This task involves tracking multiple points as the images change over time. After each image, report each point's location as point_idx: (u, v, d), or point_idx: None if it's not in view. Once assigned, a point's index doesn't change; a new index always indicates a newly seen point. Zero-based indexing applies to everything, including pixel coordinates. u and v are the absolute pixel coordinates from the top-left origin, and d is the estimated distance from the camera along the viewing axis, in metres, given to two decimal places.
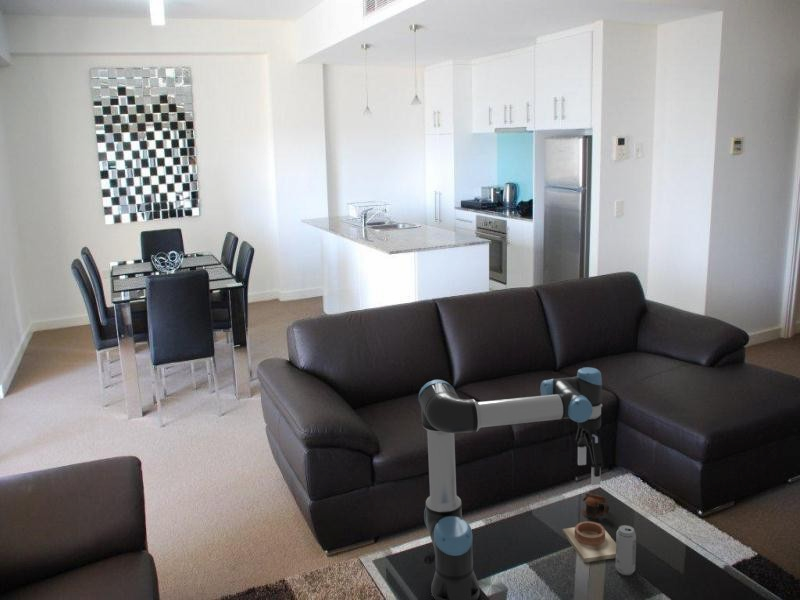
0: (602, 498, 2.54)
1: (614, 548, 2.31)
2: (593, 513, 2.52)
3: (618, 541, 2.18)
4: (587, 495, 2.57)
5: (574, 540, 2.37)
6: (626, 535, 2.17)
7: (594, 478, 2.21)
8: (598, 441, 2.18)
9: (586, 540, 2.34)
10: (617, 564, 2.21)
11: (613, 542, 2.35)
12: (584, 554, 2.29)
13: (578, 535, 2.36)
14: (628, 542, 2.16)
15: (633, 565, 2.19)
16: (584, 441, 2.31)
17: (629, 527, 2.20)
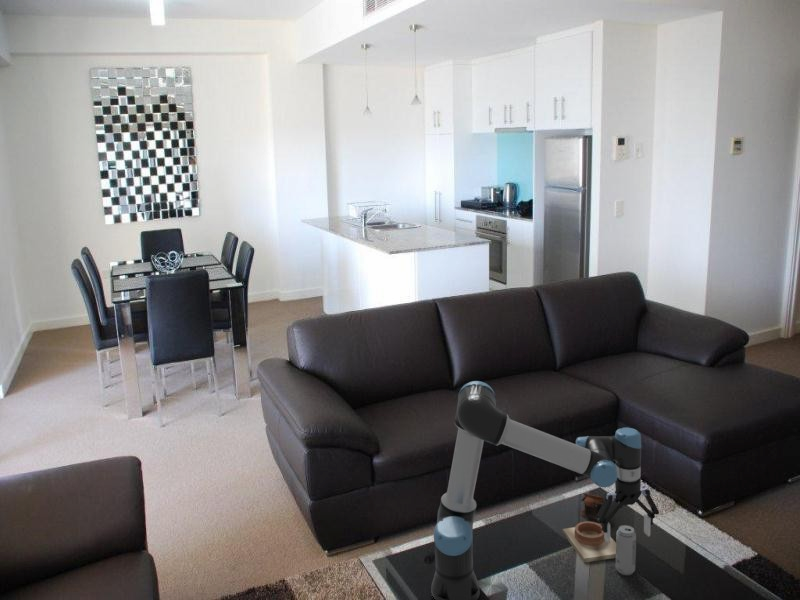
0: (600, 498, 2.54)
1: (614, 548, 2.31)
2: (592, 514, 2.52)
3: (618, 541, 2.18)
4: (585, 495, 2.56)
5: (574, 540, 2.37)
6: (626, 535, 2.17)
7: (605, 533, 2.18)
8: (607, 499, 2.14)
9: (586, 540, 2.34)
10: (617, 564, 2.21)
11: (613, 542, 2.35)
12: (584, 554, 2.29)
13: (578, 535, 2.36)
14: (628, 542, 2.16)
15: (633, 565, 2.19)
16: None
17: (629, 527, 2.20)
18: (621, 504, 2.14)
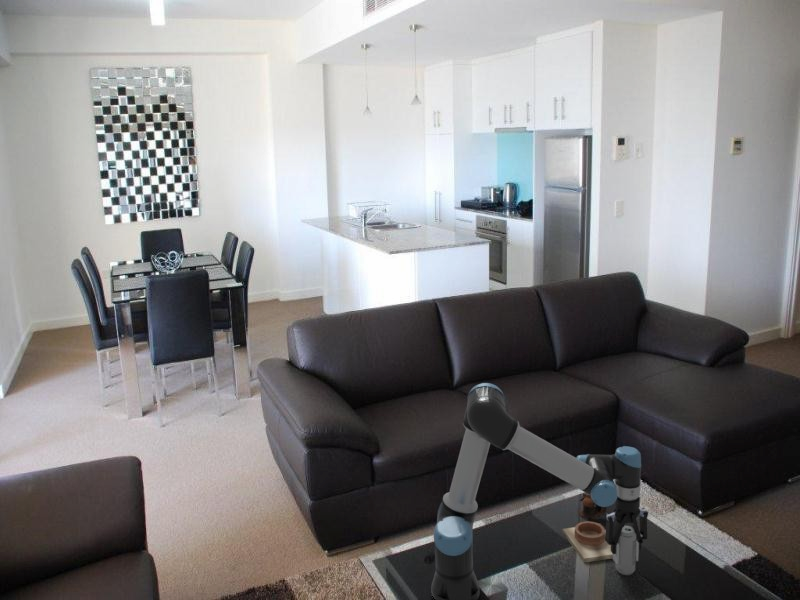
0: None
1: None
2: (590, 514, 2.52)
3: (618, 541, 2.18)
4: (584, 495, 2.56)
5: (574, 540, 2.37)
6: (626, 535, 2.17)
7: (613, 554, 2.21)
8: (608, 521, 2.16)
9: (586, 540, 2.34)
10: (617, 564, 2.21)
11: None
12: (584, 554, 2.29)
13: (578, 535, 2.36)
14: (628, 542, 2.16)
15: (633, 565, 2.19)
16: None
17: (629, 527, 2.20)
18: (622, 523, 2.16)
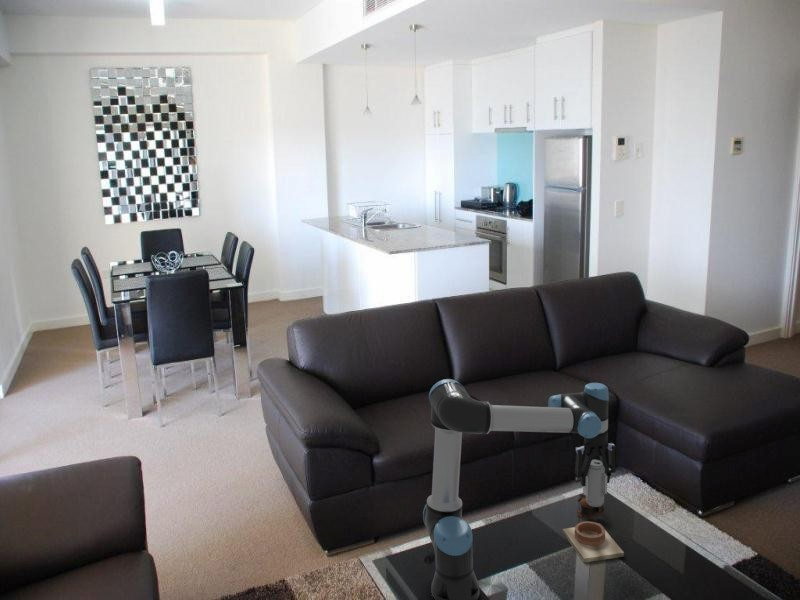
0: None
1: (614, 548, 2.31)
2: (588, 514, 2.52)
3: (587, 474, 2.29)
4: (582, 496, 2.56)
5: (574, 540, 2.37)
6: (595, 467, 2.27)
7: (583, 487, 2.32)
8: (577, 453, 2.27)
9: (586, 540, 2.34)
10: (587, 496, 2.32)
11: (613, 542, 2.35)
12: (584, 554, 2.29)
13: (578, 535, 2.36)
14: (597, 474, 2.27)
15: (602, 497, 2.30)
16: (603, 464, 2.30)
17: (598, 461, 2.30)
18: (591, 456, 2.27)
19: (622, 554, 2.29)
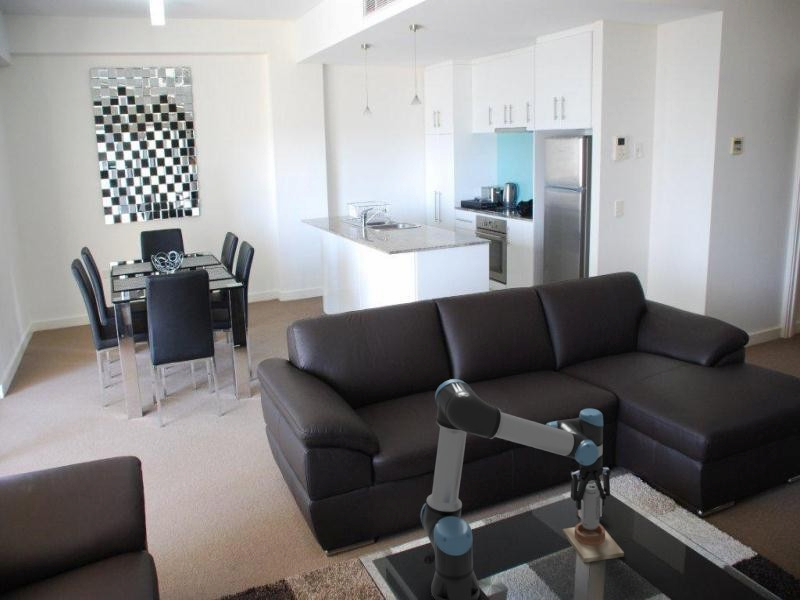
0: None
1: (614, 548, 2.31)
2: None
3: (583, 497, 2.34)
4: None
5: (574, 540, 2.37)
6: (590, 491, 2.32)
7: (579, 510, 2.36)
8: (573, 478, 2.31)
9: (586, 540, 2.34)
10: (582, 519, 2.36)
11: (613, 542, 2.35)
12: (584, 554, 2.29)
13: (578, 535, 2.36)
14: (592, 498, 2.32)
15: (597, 520, 2.34)
16: (598, 488, 2.34)
17: (593, 485, 2.35)
18: (586, 480, 2.31)
19: (622, 554, 2.29)
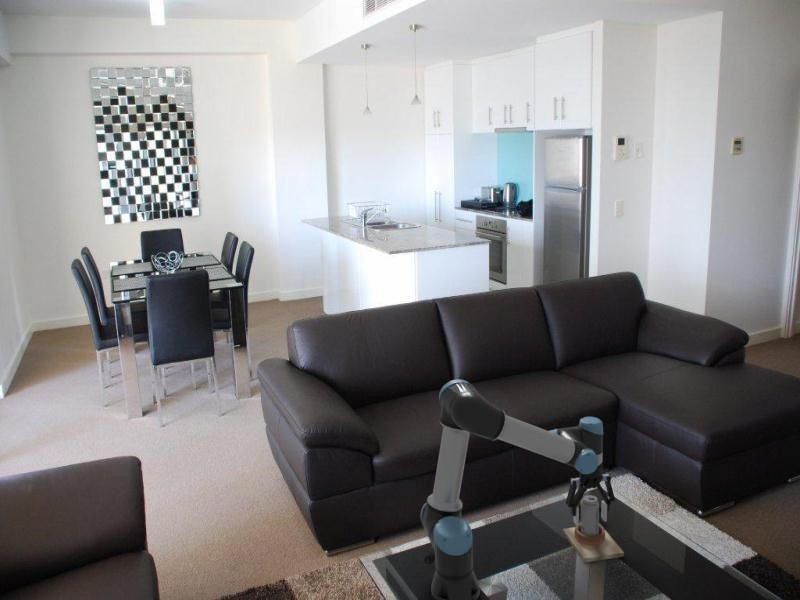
0: None
1: (614, 548, 2.31)
2: None
3: (582, 509, 2.35)
4: None
5: (574, 540, 2.37)
6: (589, 503, 2.33)
7: (574, 516, 2.36)
8: (572, 484, 2.32)
9: (586, 540, 2.34)
10: (582, 531, 2.37)
11: (613, 542, 2.35)
12: (584, 554, 2.29)
13: (578, 535, 2.36)
14: (591, 510, 2.33)
15: (596, 531, 2.35)
16: (601, 494, 2.35)
17: (593, 496, 2.36)
18: (585, 488, 2.32)
19: (622, 554, 2.29)
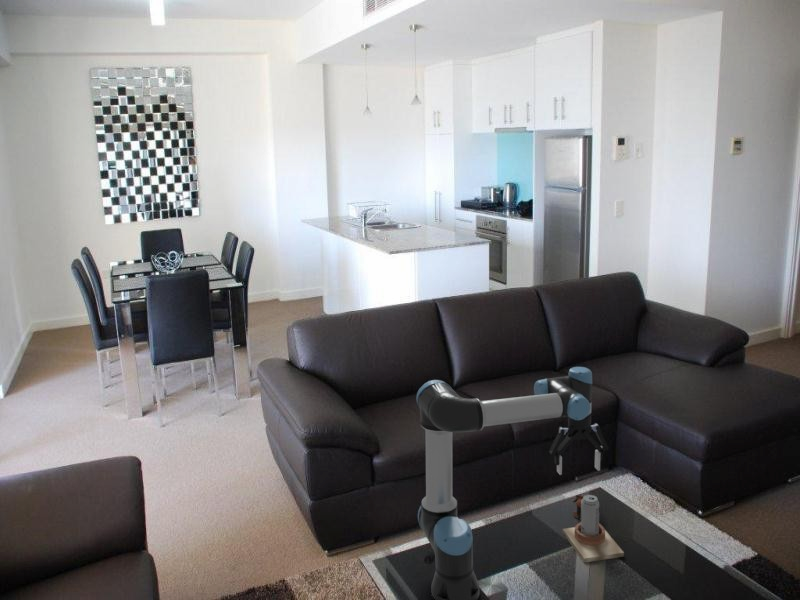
0: None
1: (614, 548, 2.31)
2: None
3: (582, 509, 2.35)
4: (577, 497, 2.56)
5: (574, 540, 2.37)
6: (589, 503, 2.33)
7: (557, 466, 2.34)
8: (560, 433, 2.30)
9: (586, 540, 2.34)
10: (582, 531, 2.37)
11: (613, 542, 2.35)
12: (584, 554, 2.29)
13: (578, 535, 2.36)
14: (592, 510, 2.33)
15: (596, 531, 2.35)
16: None
17: (593, 496, 2.36)
18: (572, 438, 2.30)
19: (622, 554, 2.29)
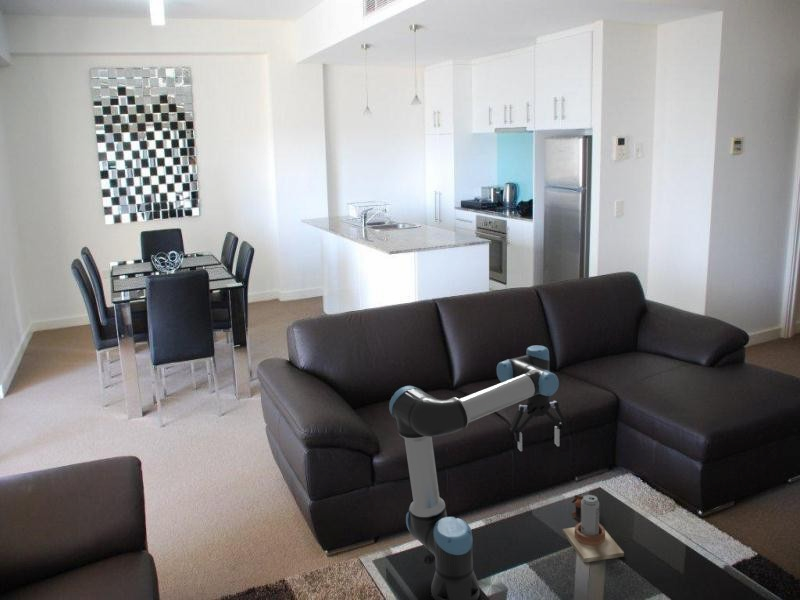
0: None
1: (614, 548, 2.31)
2: None
3: (582, 509, 2.35)
4: (576, 497, 2.56)
5: (574, 540, 2.37)
6: (589, 503, 2.33)
7: (518, 442, 2.40)
8: (519, 410, 2.36)
9: (586, 540, 2.34)
10: (582, 531, 2.37)
11: (613, 542, 2.35)
12: (584, 554, 2.29)
13: (578, 535, 2.36)
14: (592, 510, 2.33)
15: (596, 531, 2.35)
16: (552, 420, 2.39)
17: (593, 496, 2.36)
18: (531, 415, 2.36)
19: (622, 554, 2.29)
